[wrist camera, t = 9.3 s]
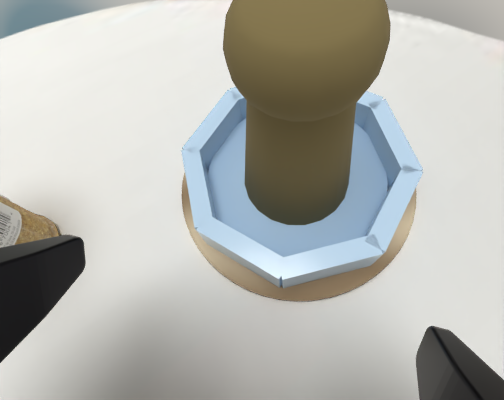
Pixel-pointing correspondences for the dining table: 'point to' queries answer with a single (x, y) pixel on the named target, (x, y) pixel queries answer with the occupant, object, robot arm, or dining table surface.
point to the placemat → (305, 290)
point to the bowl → (311, 235)
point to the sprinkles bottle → (22, 225)
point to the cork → (302, 96)
